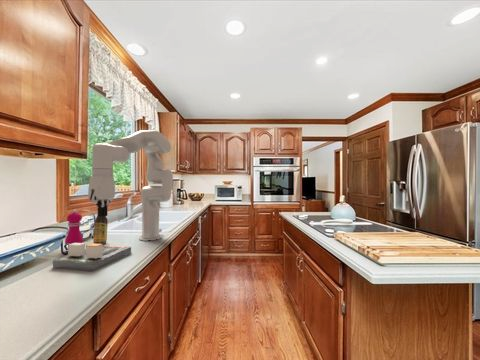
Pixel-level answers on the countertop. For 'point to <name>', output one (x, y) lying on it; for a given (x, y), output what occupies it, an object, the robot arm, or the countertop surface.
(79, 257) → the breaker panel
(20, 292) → the countertop surface
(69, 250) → the on switch
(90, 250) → the switch
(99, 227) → the sauce bottle
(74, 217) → the pepper mill
